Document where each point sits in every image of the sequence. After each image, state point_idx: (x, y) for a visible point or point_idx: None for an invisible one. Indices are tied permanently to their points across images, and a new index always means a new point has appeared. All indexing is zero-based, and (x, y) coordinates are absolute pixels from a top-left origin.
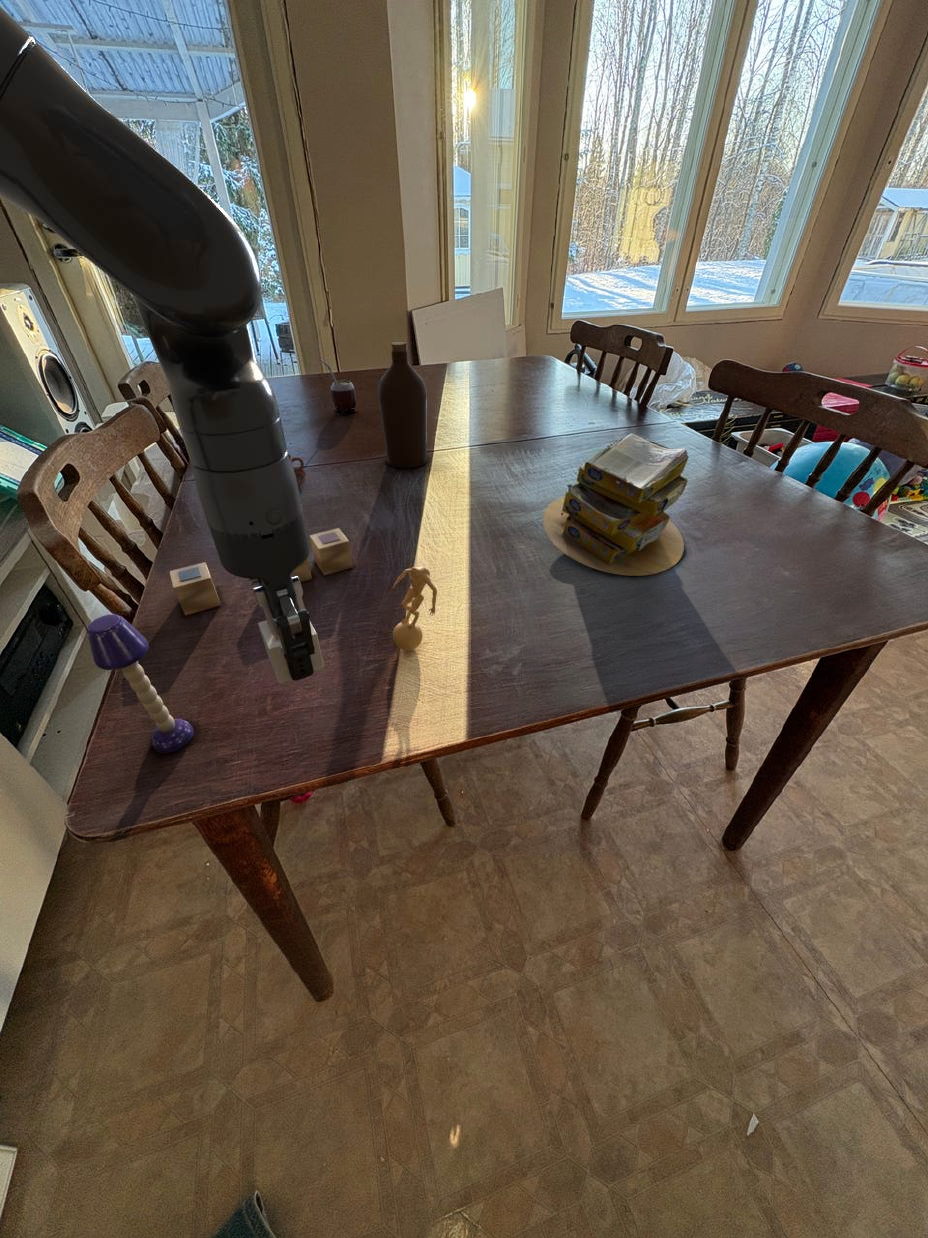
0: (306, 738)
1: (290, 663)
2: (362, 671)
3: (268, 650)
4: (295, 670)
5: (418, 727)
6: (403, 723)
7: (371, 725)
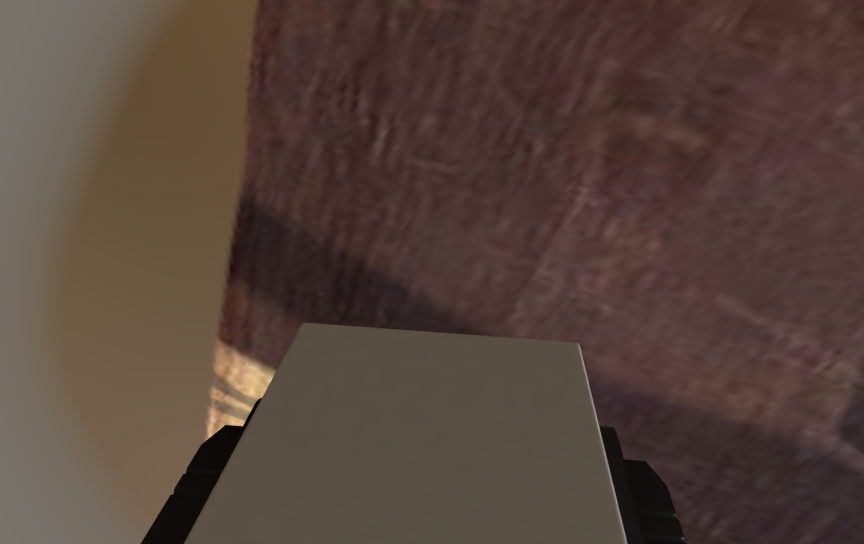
0: (413, 193)
1: None
2: None
3: (281, 503)
4: (180, 487)
5: None
6: None
7: None
